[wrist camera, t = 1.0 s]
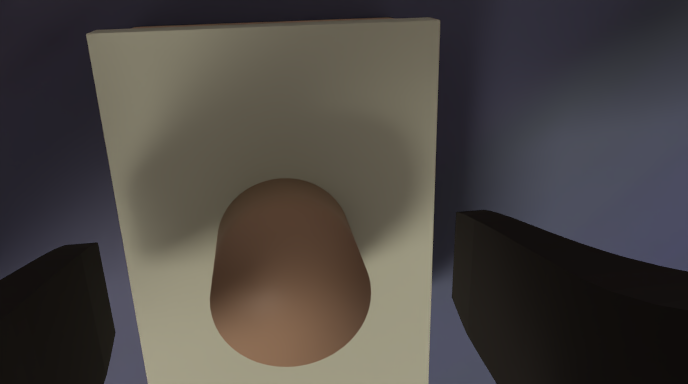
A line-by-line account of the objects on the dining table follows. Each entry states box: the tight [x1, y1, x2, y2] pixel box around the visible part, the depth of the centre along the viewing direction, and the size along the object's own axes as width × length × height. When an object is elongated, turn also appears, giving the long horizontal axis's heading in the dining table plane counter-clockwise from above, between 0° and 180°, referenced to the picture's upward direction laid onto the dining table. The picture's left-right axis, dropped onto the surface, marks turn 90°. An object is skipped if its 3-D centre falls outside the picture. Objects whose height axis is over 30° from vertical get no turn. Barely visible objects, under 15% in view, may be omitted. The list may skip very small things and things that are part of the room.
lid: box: [86, 17, 440, 384], centre depth 13 cm, size 9×7×4 cm
